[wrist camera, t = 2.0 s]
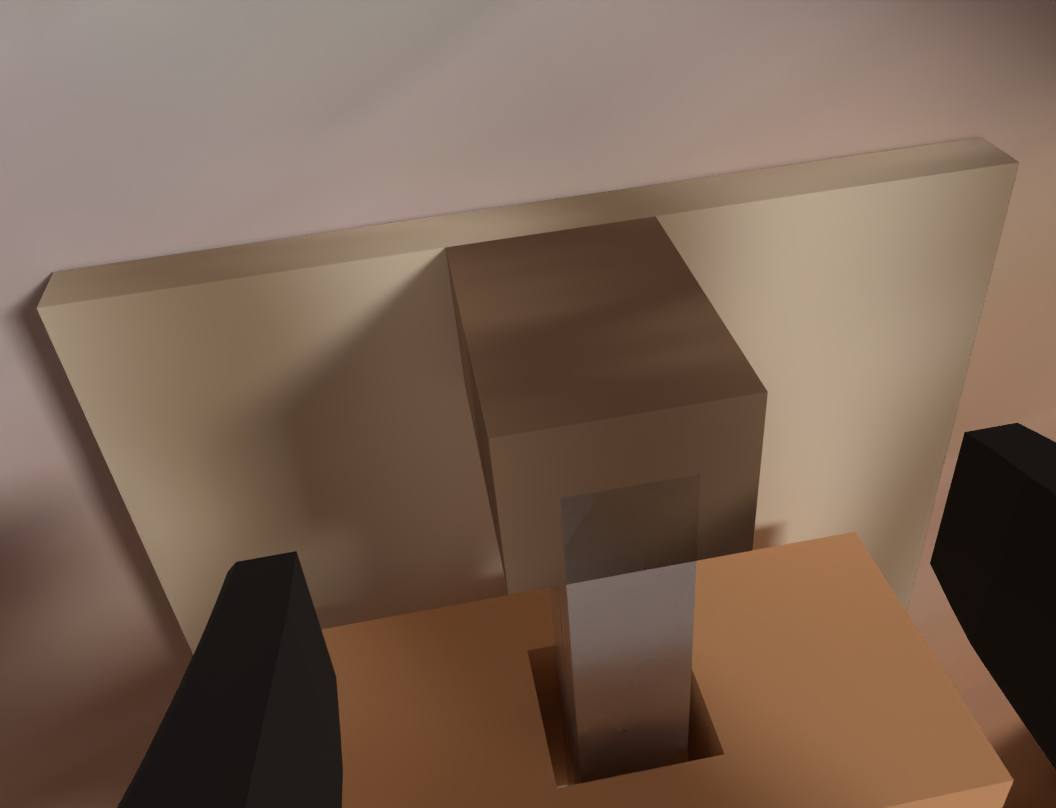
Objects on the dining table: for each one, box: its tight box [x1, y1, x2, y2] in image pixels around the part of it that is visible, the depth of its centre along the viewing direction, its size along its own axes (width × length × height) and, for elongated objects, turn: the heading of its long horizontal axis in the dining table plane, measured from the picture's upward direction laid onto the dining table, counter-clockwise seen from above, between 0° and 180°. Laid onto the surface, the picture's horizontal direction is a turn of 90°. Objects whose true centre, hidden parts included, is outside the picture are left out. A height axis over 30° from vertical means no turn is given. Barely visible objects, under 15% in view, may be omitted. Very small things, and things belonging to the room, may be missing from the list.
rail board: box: [37, 137, 1019, 788], centre depth 19 cm, size 14×24×5 cm, turn 4°
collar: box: [321, 532, 1014, 808], centre depth 15 cm, size 10×4×5 cm, turn 94°
